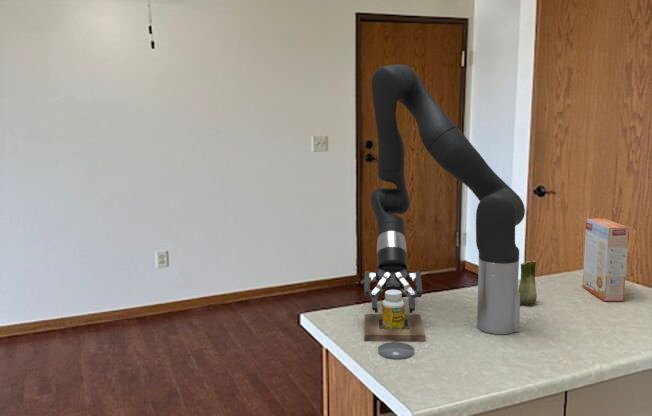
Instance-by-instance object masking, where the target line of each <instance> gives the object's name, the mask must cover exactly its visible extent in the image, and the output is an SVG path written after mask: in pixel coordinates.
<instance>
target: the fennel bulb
mask: <svg viewBox="0 0 652 416" xmlns="http://www.w3.org/2000/svg"><path fill="white" fill-rule="evenodd" d="M536 264H537V262H536V260H528V261H525V262H522V263H520V281H519V284H518V292H519V293H520V305H521V306H531V305H534V304H535V303H536V302H537V300H538V299H537V297H538V296H537V288H536Z"/></svg>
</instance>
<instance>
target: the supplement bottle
mask: <svg viewBox="0 0 652 416" xmlns="http://www.w3.org/2000/svg"><path fill="white" fill-rule="evenodd" d="M402 294H403V291H402V290H400V289H399V290H386V291H385V292H384V300H383V301H382V303H381V305H382V308H381V309H382V311H381V314H383V325H382V329H405V326H406V325H405V314H406V313H405V311H406V309H405V308H406V307H405V306H406V303H405V301H404V300H403V299H402Z"/></svg>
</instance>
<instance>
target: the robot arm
mask: <svg viewBox="0 0 652 416" xmlns="http://www.w3.org/2000/svg"><path fill="white" fill-rule="evenodd" d="M370 85H371V95H372V96H371V97H372V102H373V110H374V111H373V112H374V116H375V117H374V118H375V127H376V132H377V149H378V151H377V178H379V180H381V181H384V182H387V183H391V184H393V185H395V186H396V188H393V187H391V188H390V187H387V188H384V187H383V188H382V187H381V188H376V189H374V190H373V192H371V195H370V199H369V200H370V207H371V209H372V212H373V214H374V217H375V220H376V224H377V241H376V269H377V270H376V272H370V271H369V270H366V271H365V272H364V287H363V289H364V290H363V292H364V293H363V294H364V297H365V298H367V297H368V298H370V299H371V310H372V311H374V314H379V313H378V311H379V309H378V300H379V299H378V296H380V294H383V293H382V292H383V291H384V290H386V291H387V290H399V291H401V292H402V293H403V294H404V295H406V296H407V297H408V311H409V312H408V314H413V312H414V311H415V310H416V298H421V297H422V296H423V295H422V294H423V285H422V283H423V282H422V275H421V272H420V271H419V270H417V271H416V272H410V271H409V270H408V256H407V254H408V253H407V243H406V234H405V222H404V220H403V218H402V217H400V216H399V215H405V214H406V213H407V212H408V210H409V209H410V207H411V206H410V205H411V200H410V196H409V191H408V189H407V188H408V187H407V185H406V180H405V179H406V178H405V156H406V153H405V145H404V142H403V138H402V135H401V133H400V130H399V127H398V121H397V105H398V102H400V103H401V104H402V105H403V106H404V107H405V108H406V110H408V111H409V113H410V114H411V115H412V117H413V118H414V120H415V122H416V125H417V128H418V132H419V136H420V139H421V142H422V145H423V146H424V148H425V149H426V151H427V152H428V153H429V155H430V156H431V157H432V158H433V159H434V161H435V162H436V163H437V164H438V165H439V166H440V168H442V169H443V170H445V171H446V172H447V173H449V174H450V175H451V176H452V177H454V178H455V179H456V180H458V181H459V182H461V183H463V184H464V185H465V186H466V187H467V188H468V189H469V190H470V191H471V192H472V193H473V194H474V196H475V197H476V198H477V199H478V201H479V202H478V205H477V207H476V212H475V243H476V248H477V250H478V251H477V252H478V274H477V275H478V279H477V304H476V305H477V308H476V309H477V310H476V311H477V314H476V327H477V329H479V330H480V331H483V332H485V333H488V334H494V335H508V334H512V333H519V332H520V313H521V312H520V308H521V306H520V305H521V304H520V293H519V292H518V290H519V271H520V270H519V268H520V267H519V265H520V262H519V261H520V249H519V248H518V246H517V245H516V226H518V225H520V224H521V222H522V221H523V220H524V218H525V213H526V209H525V208H526V207H525V205H524V202H523V200H522V198H521V197H520V195H518V194H517V193H516V192H515V191H514V190H513V188H511V186H509V185H508V184H507V183H506V182H505V181H504V180H503V179H501V177H499V176H498V174H497V173H496V172H495V171H494V170H493V169H492V168H491V167H490V165H489V164H488V163H487V161H486V160H485V159H484V158H483V157H482V155H481V154H480V153H479V151H478V150H477V149H476V148H475V147H474V145H472V143H471V142H470V140H469V139H468V138H467V136H466V135H465V134H464V133H463V132H462V131H461V130H460V128H459V127H458V126H457V125H456V124H455V122H453V120H452V119H451V118H450V117H449V116H448V115H447V114H446V112H445V111H444V110H443V109H442V108H441V106H440V105H439V104H438V103H437V102H436V101H435V99H434V98H433V97H432V95H431V94H430V92H429V91H428V89H427V88H426V86H425V85H424V83H423V82H422V80H421V79H420V77H419V76H418V75H417V73H416V72H415V70H414V69H412V68H411V67H410V66H408V65H407V64H406V65H405V64H400V63H399V64H390V65H382V66H380V67H378V68H376V70H375V71H374V73H373V74H372V77H371V84H370ZM374 279H375V280H376V281H377V284H376V285H375V287H374V288H373V289H372V290H371V289H370V284H371V283H372V282H373V281H374ZM409 280H412V282H413V283H415V290H414V289H413V288H412V287H411V285H410V283H409V282H408V281H409Z"/></svg>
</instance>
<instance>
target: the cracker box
mask: <svg viewBox="0 0 652 416" xmlns="http://www.w3.org/2000/svg"><path fill="white" fill-rule="evenodd" d="M629 237H630V227H629V226H628V225H624V224H621V223H618V222H616V221H613V220H610V219H608V218H603V217H602V218H601V217H600V218H599V217H598V218H586V222H585V238H584V252H583V253H584V255H583V272H582V273H583V274H582V284H581V285H582V288H583V289H585V290H587V292H590V293H591V294H592V295H594V296H595V297H597V298H598V299H600V300H601V301H603V302H624V300H625V293H626V292H625V289H626V288H625V287H626V278H627V277H626V275H627V266H628V265H627V261H628V253H629V252H628V249H629V239H630V238H629Z"/></svg>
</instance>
